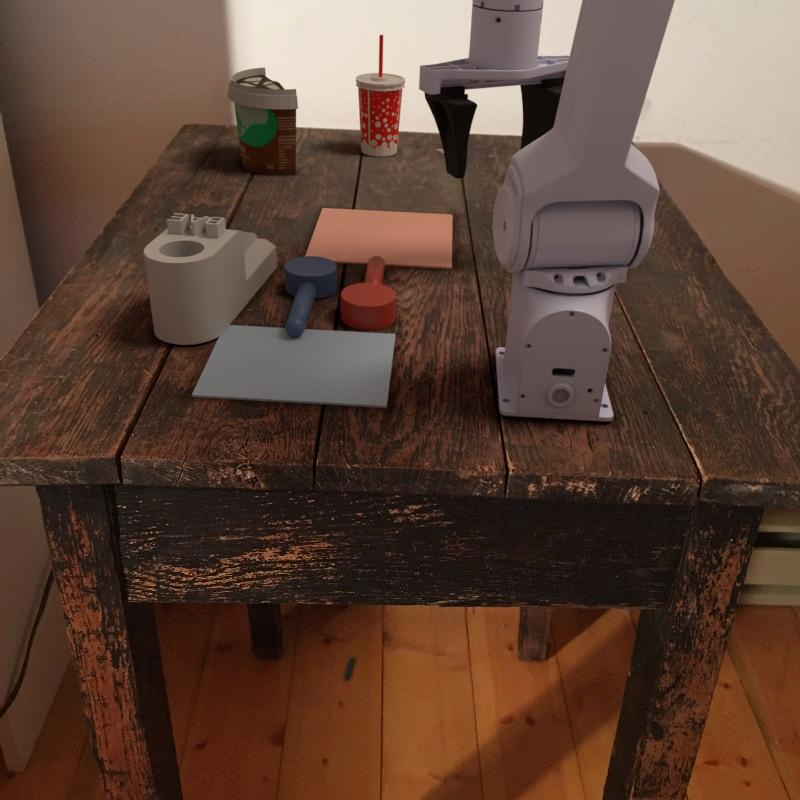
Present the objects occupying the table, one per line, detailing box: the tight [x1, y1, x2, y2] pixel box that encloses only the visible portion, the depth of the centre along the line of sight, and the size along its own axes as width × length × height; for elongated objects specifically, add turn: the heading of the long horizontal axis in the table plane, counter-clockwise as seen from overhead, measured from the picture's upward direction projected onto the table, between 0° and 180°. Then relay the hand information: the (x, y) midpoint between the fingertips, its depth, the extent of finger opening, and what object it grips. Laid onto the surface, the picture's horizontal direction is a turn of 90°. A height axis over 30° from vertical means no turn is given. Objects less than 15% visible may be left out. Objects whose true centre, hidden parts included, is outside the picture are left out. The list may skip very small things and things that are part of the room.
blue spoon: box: [283, 255, 338, 337], centre depth 78 cm, size 12×5×2 cm, turn 177°
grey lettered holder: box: [143, 212, 278, 346], centre depth 77 cm, size 6×18×8 cm, turn 168°
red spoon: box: [340, 256, 397, 331], centre depth 80 cm, size 12×5×2 cm, turn 177°
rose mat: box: [304, 207, 454, 270], centre depth 92 cm, size 14×14×1 cm
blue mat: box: [191, 324, 397, 409], centre depth 70 cm, size 11×14×1 cm
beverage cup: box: [355, 34, 406, 157], centre depth 113 cm, size 6×6×14 cm
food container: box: [227, 67, 299, 176], centre depth 108 cm, size 12×6×10 cm, turn 25°
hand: (493, 170), depth 81 cm, fingers open, 7 cm apart
